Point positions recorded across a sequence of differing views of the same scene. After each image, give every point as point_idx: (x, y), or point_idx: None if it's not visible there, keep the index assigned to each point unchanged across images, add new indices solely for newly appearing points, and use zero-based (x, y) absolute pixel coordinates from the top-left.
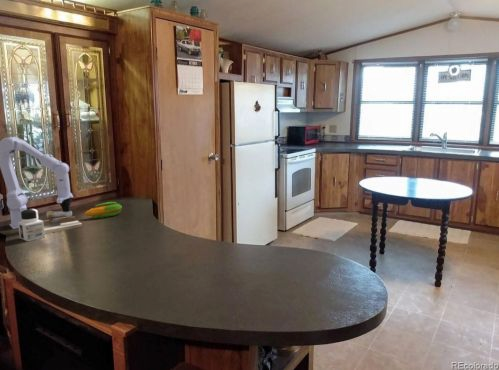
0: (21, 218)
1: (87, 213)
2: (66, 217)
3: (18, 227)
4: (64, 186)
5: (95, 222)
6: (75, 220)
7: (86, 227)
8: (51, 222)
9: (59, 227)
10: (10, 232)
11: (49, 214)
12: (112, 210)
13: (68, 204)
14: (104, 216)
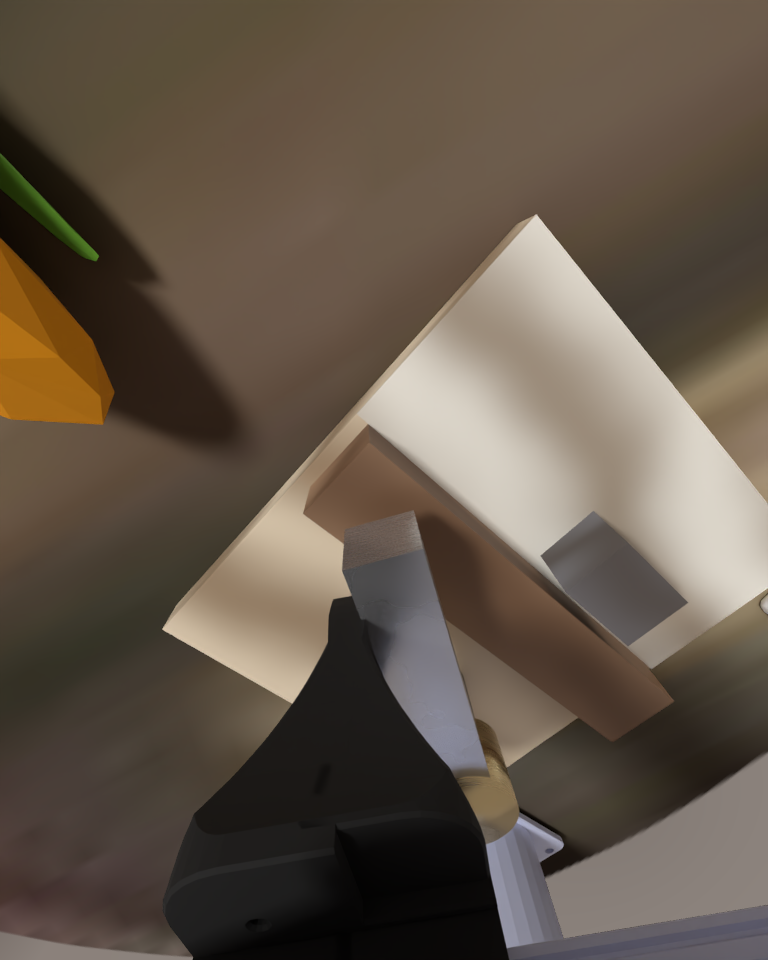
0: (543, 914)
1: (84, 362)
2: None
3: (541, 827)
4: None
5: (251, 111)
6: (375, 431)
7: (557, 119)
8: (654, 615)
9: (704, 463)
10: (648, 804)
11: (508, 774)
12: None
13: (413, 727)
14: None
